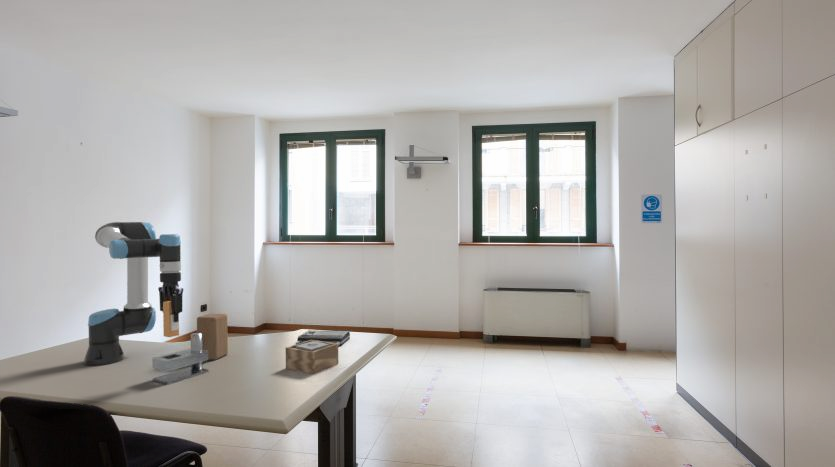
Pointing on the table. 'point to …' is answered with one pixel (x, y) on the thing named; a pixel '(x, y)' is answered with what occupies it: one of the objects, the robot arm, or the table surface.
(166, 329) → the orange square bar
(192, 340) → the grey slotted stand
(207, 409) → the table surface
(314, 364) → the box
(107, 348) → the robot arm
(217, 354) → the wooden block
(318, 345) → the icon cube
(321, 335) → the radio
